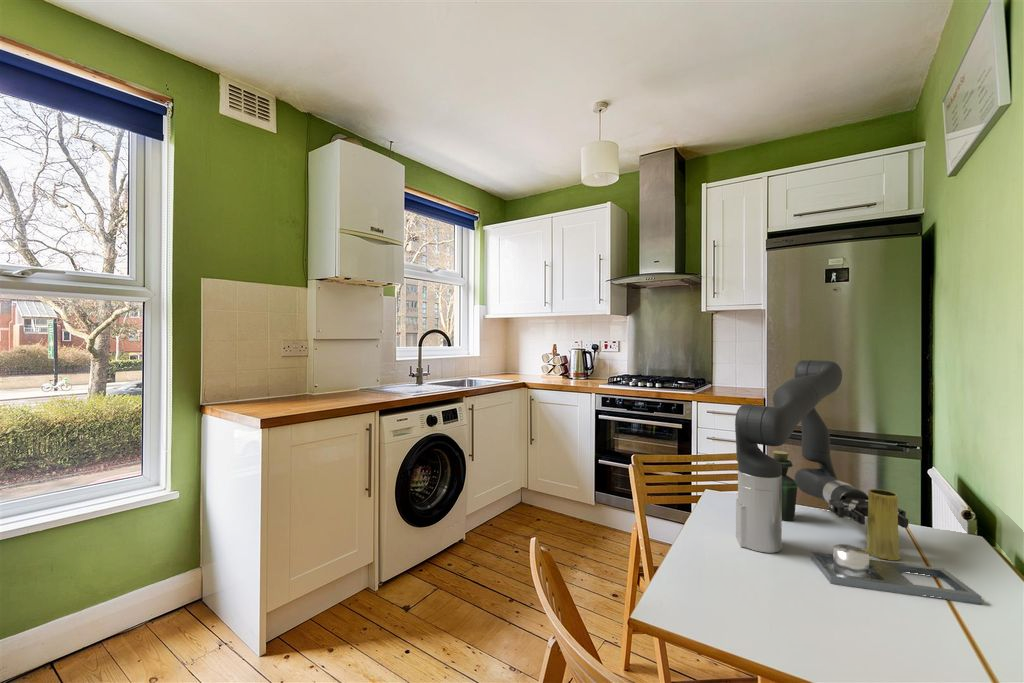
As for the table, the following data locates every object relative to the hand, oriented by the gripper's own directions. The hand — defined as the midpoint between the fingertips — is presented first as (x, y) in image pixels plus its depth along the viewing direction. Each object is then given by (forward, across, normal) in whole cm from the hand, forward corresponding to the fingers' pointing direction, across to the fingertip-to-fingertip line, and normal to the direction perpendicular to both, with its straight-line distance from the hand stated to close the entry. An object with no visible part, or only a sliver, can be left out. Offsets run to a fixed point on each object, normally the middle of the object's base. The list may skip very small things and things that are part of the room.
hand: (884, 522), depth 102 cm
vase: (-1, 0, +8) cm, 8 cm away
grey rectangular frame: (+12, -6, +8) cm, 15 cm away
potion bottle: (-21, -14, +8) cm, 27 cm away
